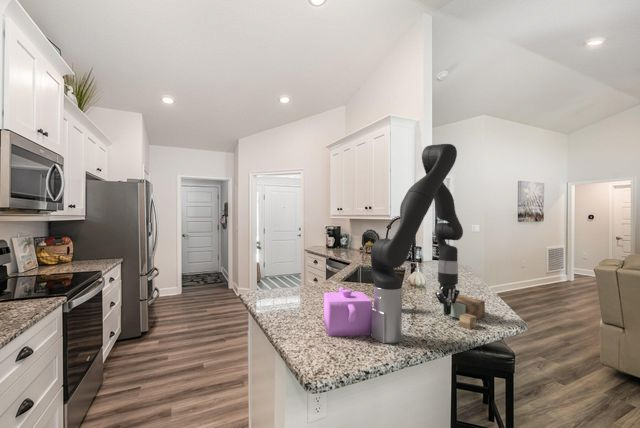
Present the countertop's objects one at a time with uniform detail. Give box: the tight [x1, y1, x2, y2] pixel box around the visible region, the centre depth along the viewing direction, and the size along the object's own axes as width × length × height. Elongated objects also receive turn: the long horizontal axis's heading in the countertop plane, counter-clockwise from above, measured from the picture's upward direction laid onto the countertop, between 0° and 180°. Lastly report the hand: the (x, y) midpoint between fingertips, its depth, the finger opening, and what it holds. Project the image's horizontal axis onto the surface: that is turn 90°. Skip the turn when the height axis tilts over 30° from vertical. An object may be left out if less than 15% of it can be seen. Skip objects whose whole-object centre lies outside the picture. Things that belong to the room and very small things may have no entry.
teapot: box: [323, 286, 373, 337], centre depth 106 cm, size 15×25×14 cm, turn 6°
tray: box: [440, 302, 466, 320], centre depth 122 cm, size 12×10×6 cm
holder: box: [455, 294, 486, 320], centre depth 122 cm, size 12×12×6 cm
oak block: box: [459, 314, 477, 330], centre depth 108 cm, size 4×4×4 cm
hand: (447, 314), depth 117 cm, fingers closed
